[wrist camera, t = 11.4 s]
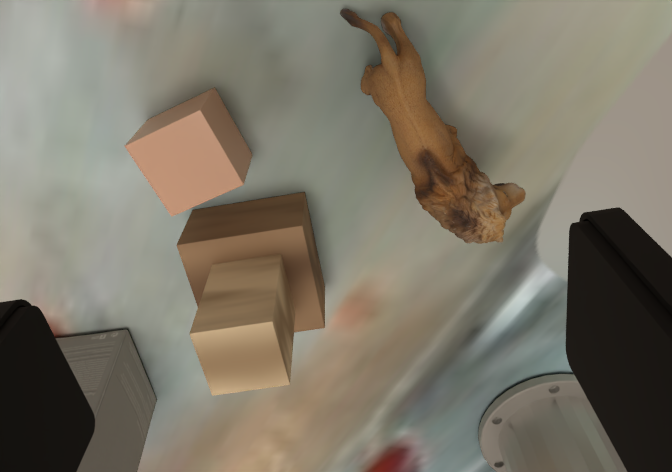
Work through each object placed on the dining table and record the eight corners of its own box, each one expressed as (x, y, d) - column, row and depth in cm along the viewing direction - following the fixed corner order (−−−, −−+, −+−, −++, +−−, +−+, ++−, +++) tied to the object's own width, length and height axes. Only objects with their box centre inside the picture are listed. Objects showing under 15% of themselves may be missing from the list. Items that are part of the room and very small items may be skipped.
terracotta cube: (252, 154, 39) (243, 184, 34) (188, 183, 40) (171, 216, 35) (214, 87, 37) (200, 110, 32) (147, 119, 38) (124, 145, 33)
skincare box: (51, 334, 46) (-68, 516, 32) (140, 324, 45) (58, 504, 31) (87, 412, 50) (-5, 603, 36) (168, 403, 49) (107, 593, 36)
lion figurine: (504, 163, 39) (549, 224, 31) (439, 207, 41) (466, 276, 33) (374, -21, 34) (390, -2, 26) (305, 39, 35) (299, 74, 27)
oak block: (295, 310, 39) (289, 384, 33) (230, 320, 39) (212, 395, 33) (281, 253, 37) (272, 321, 30) (212, 264, 37) (189, 333, 31)
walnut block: (324, 286, 44) (324, 327, 39) (222, 302, 44) (210, 344, 40) (304, 192, 40) (302, 225, 36) (192, 209, 41) (176, 245, 36)
